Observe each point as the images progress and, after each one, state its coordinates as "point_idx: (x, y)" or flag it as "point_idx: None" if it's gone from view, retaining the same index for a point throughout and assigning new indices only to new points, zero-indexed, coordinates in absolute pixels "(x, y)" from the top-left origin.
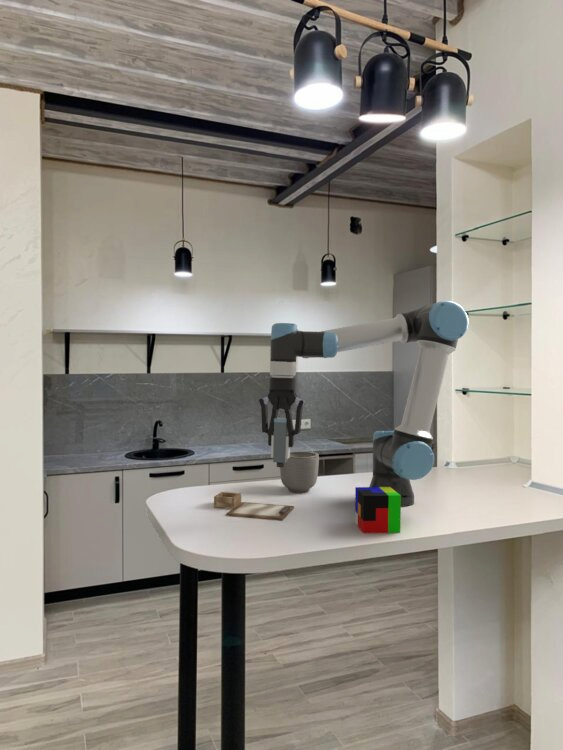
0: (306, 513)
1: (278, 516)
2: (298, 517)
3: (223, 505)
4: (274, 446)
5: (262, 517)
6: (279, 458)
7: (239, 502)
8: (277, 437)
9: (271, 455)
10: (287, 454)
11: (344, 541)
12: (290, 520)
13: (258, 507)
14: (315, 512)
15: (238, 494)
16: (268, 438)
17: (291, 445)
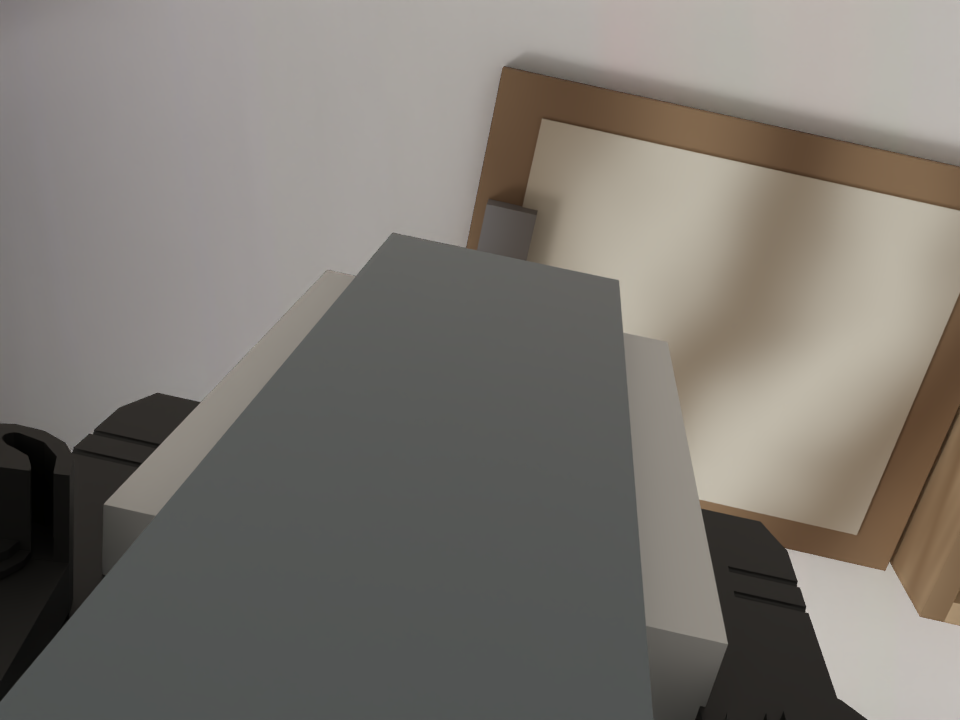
0: None
1: (541, 118)
2: (367, 177)
3: None
4: (601, 400)
5: (692, 109)
6: (489, 273)
7: (913, 531)
8: (502, 510)
9: (661, 360)
10: (306, 299)
11: None
12: (430, 74)
13: (735, 398)
14: (239, 339)
15: (950, 575)
16: (812, 651)
17: (146, 414)
